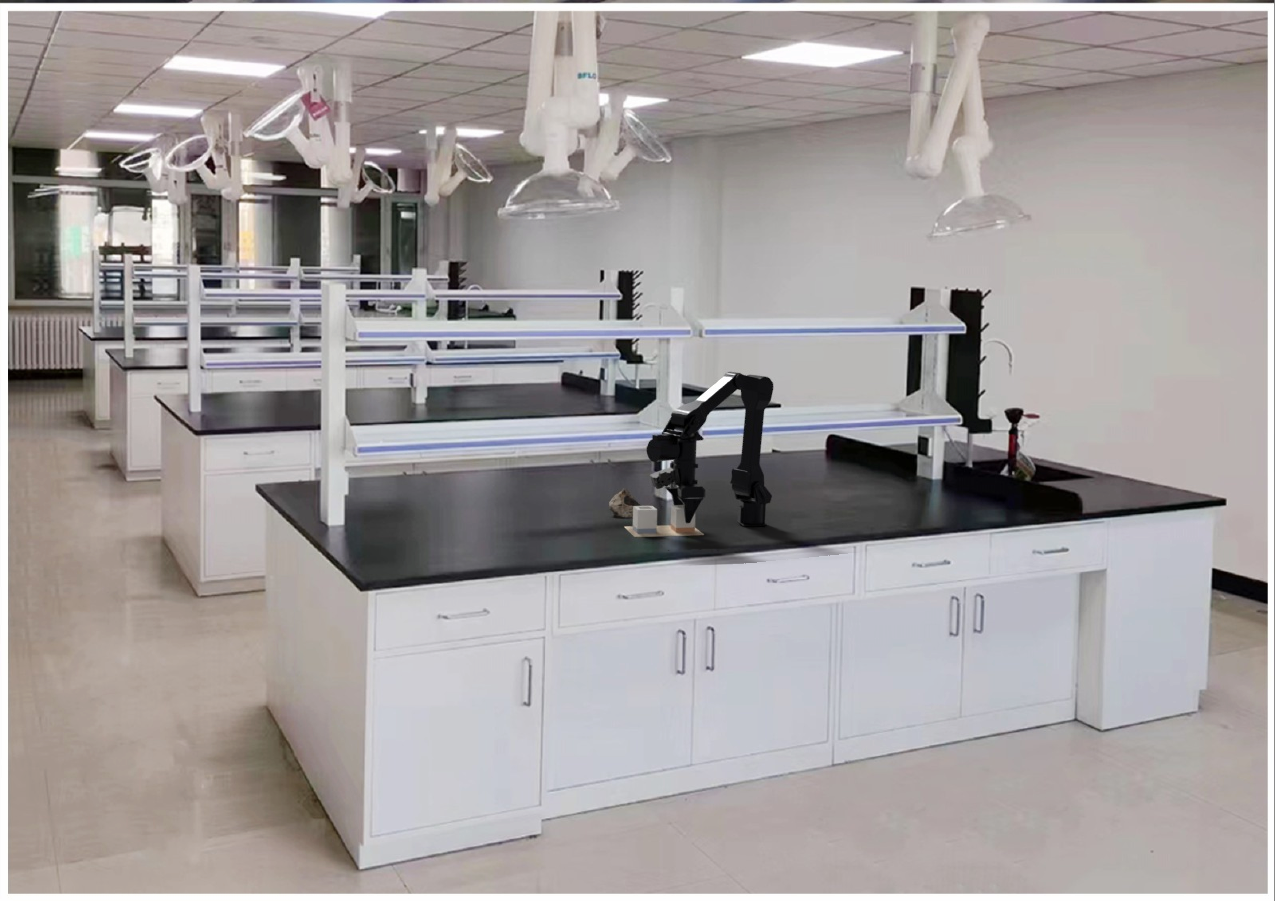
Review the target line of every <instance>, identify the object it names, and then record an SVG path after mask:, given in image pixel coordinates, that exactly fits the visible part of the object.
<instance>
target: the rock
mask: <svg viewBox="0 0 1275 901" xmlns="http://www.w3.org/2000/svg"><path fill="white" fill-rule="evenodd" d="M608 504H609V508H608V509H609V510H610V511H611V512H612V513H613V516H615V517H622V518H626V519H627V518H633V506H642V504H640V502H638V501H637V500H636V499H635V498H634V497H633V495H632V494H631V492H630V491H628V489H627V488H625V489H622V490H621V491H619V492H618V493H616V494H614V496H613V497H612V498H611V500H610V501H609V502H608Z"/></svg>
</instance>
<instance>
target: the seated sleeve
mask: <svg viewBox="0 0 1275 901" xmlns="http://www.w3.org/2000/svg"><path fill="white" fill-rule="evenodd" d="M632 526H633V530H634V531H635V532H636V533H637V534H642V533H657V526H658V508H656V507H654V506H653V505H641V506H633V517H632Z"/></svg>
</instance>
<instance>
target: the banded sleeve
mask: <svg viewBox="0 0 1275 901" xmlns="http://www.w3.org/2000/svg"><path fill="white" fill-rule="evenodd" d="M670 508H671V509H670V510H671V511H670V525H671V529H672V530H673V531H675V532H676V533H677V532H695V528H696V513H695V514H694V516H693V518H692V520H691V522H690V523H686V522H685V516H684V507H683V505H674V504H671V505H670Z"/></svg>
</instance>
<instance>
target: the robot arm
mask: <svg viewBox="0 0 1275 901" xmlns="http://www.w3.org/2000/svg"><path fill="white" fill-rule="evenodd" d="M737 390H738V391H740V398H741V401H742V403H743V405H744V408H745V410H744V411H745V412H744V420H743V421H744V423H743V432H742V433H743V434H742V435H743V436H742V444H741V445H742V446H741V455H740V456H741V457H740V463H739V464H738V466H737V467H736V468H732V469H731V480H730V482H729V483H730V484H731V490H732V491H733V492H734V497H735V500H738V501H739V505H738V506H737V521H736V522H737V523H738V524H740V525H742V526H743V527H762V526H763V527H767V526H768V523H766V513H767V512H766V508H767V507H766V506H767V504H770V503H771V502H772V497H773V495H772V493H771V492H770V491H769V489H768V488H767V487H766V486H765V475H764V472H763V469H762V468H761V464H760V461H761V449H762V439H763V429H764V428H763V427H764V419H765V418H764V417H765V411H766V408H767V407H768V406H769V404H770V402H771V400H772V396H773V392H774V382H773V381H772V379H771V378H770V377H769V376H763V375H757V374H747V375H746V374H743V373H741V372H735V371H734V372H733V371H727V372H725V373H724V374H723V376H722V377H721V379H719V380H717V382H715V383H714V384H713V385H712V386H711V387H709V388H708V389H707V390H706V391H705V392H703V393H702V394H701V395H700V396H699V397H697V399H695V400H693V401H692V402H688V403H685V404H682V405H680V406H678V407H677V408H675V409H674V410H673V411H672V412H671V414H670V416H671V417H670V418H669V420H668V421H667V423H666V425H665V427H664V428H663V429H662V430H663V431H662V432H661V434H658V433H653V434H652V436H651V437H652V439H650V440H649V441H648V443H647V446H646V455H647V457H648V459H649V460H650V461H651V462H653V463H658V462H667V461H670V463H669V467H668V468H664V469H661V470H658V471H656V472H653V473H650V475H649V477H650V479H651V482H652V486H653V487H654V488H655V489H656V490H660V489H662V488H663V487H664V489H665V490H666V491H667V492H669V494H670V495H671V499H672V503H673V504H672V505H683V507H684V516H685V522H686V523H690V522H691V520H692V518H693V516H694V514H695V515H696V513H697V512H696V511H697V510H698V508H699V506H700V504H701V503H702V501H703V500H704V498H706V489H705V488H704V487H703V486H702V485H700V484H699V483H698V479H697V478H696V469H698V468H699V464H698V463H697V443H698V442H700V441H703V440H704V437H703V436H702V435H701V434H700V433H699V430H700V429H701V428H702V427H703V426H704V425H705V423H706V422H707V419H708V416H709V415H710V414H711V412H713V411H714V410H715V409H716V408H718V406H720V405H721V404H722V403H723V402H724V401H726V400H727V399H728V398H729V397H730V396H731V395H733V394H734V393H735V392H736V391H737Z"/></svg>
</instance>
